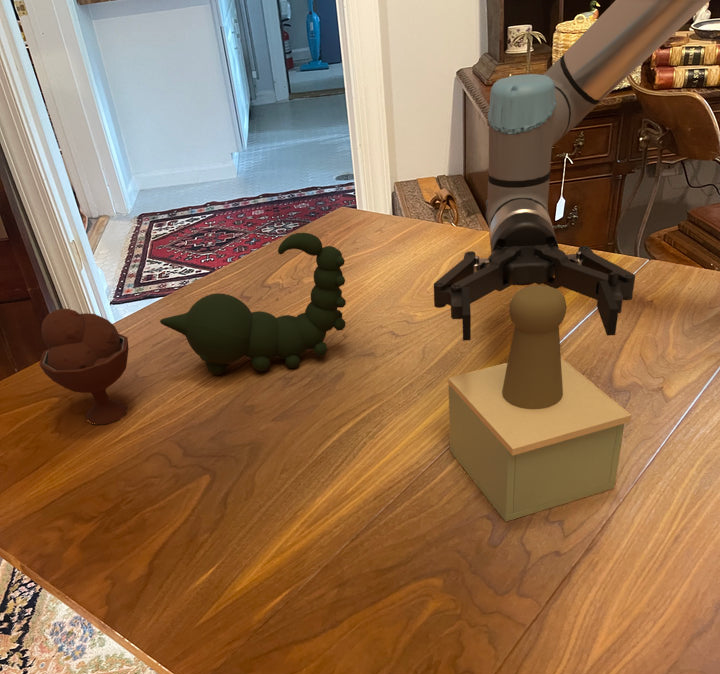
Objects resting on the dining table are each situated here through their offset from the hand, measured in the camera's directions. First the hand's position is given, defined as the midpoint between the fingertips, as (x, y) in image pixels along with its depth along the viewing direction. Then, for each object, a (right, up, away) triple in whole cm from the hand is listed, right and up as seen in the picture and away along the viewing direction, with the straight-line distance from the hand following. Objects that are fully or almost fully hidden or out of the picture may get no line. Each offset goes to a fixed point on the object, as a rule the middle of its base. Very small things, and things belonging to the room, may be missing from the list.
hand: (538, 325), depth 70 cm
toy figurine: (-30, +2, +35) cm, 47 cm away
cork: (0, -6, +5) cm, 8 cm away
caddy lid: (+1, -7, +5) cm, 8 cm away
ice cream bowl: (-51, -6, +28) cm, 58 cm away
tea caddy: (+1, -13, +10) cm, 17 cm away
